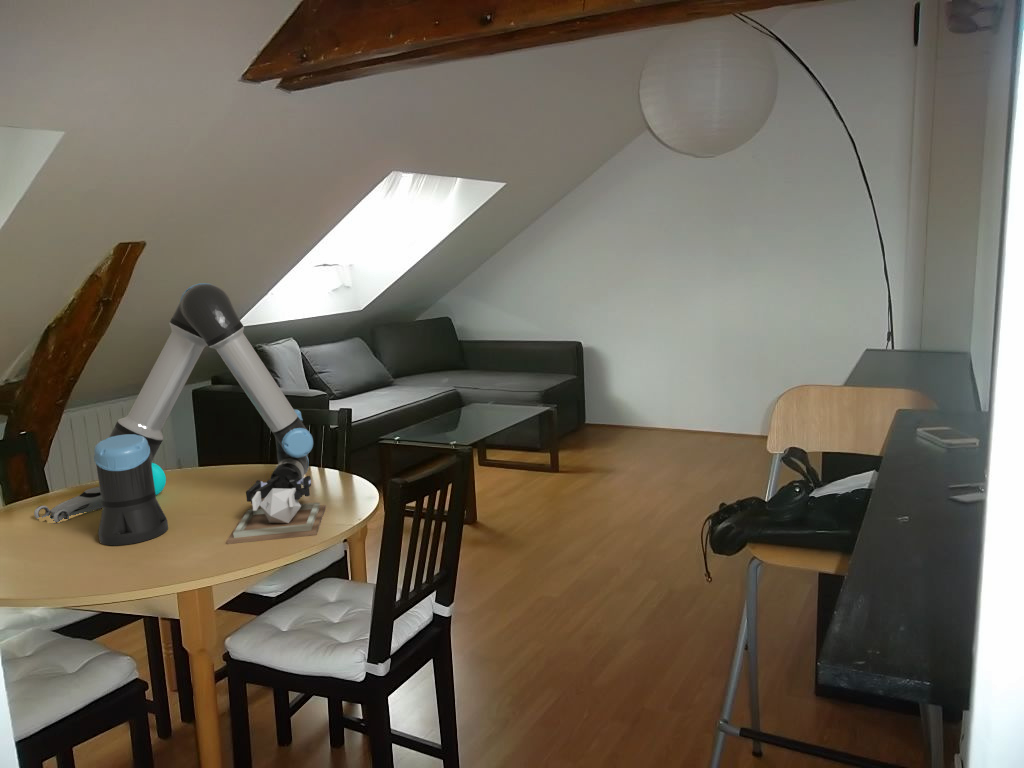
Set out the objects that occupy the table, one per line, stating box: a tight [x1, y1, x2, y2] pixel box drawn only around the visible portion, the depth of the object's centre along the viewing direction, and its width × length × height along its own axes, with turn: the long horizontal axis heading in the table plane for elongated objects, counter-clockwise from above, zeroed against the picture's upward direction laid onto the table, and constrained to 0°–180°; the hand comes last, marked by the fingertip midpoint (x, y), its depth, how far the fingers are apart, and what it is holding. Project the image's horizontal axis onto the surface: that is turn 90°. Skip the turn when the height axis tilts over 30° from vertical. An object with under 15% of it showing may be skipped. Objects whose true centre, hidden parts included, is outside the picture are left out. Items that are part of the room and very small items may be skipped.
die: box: [259, 488, 301, 523], centre depth 192 cm, size 8×9×10 cm
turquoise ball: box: [152, 462, 167, 496], centre depth 220 cm, size 10×10×10 cm
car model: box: [33, 486, 103, 522], centre depth 217 cm, size 11×24×5 cm, turn 150°
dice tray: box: [226, 501, 327, 545], centre depth 193 cm, size 20×20×2 cm
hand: (272, 503), depth 187 cm, fingers closed on die, 8 cm apart
